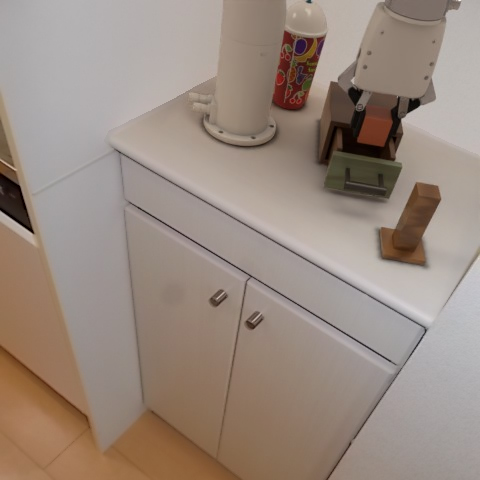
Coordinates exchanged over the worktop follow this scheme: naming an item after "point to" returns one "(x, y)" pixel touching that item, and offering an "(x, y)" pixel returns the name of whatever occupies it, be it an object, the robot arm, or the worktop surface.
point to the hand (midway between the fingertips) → (370, 134)
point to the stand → (411, 226)
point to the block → (375, 126)
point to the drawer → (361, 165)
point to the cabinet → (347, 116)
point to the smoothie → (299, 53)
